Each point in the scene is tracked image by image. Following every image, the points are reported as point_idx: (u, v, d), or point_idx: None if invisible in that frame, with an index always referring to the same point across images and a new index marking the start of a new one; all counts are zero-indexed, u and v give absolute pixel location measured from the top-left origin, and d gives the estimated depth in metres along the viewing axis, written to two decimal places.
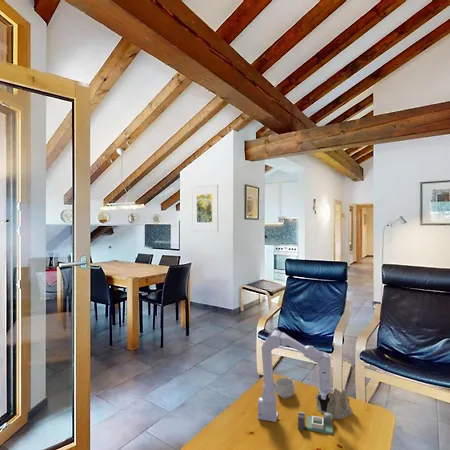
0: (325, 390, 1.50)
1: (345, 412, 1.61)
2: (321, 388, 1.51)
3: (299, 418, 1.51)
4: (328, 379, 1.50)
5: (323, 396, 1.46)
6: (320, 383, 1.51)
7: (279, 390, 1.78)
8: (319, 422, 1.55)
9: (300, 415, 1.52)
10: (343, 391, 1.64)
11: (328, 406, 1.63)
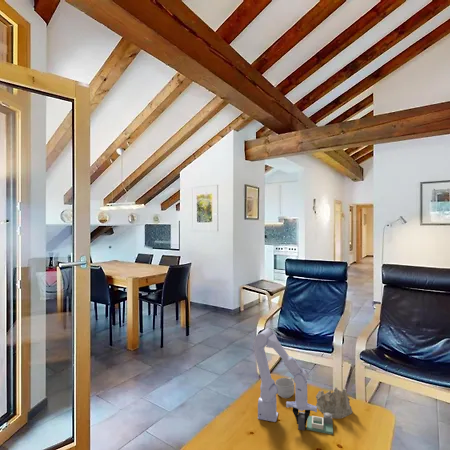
0: (295, 404, 1.53)
1: (345, 411, 1.62)
2: None
3: (299, 418, 1.51)
4: (303, 396, 1.50)
5: (286, 403, 1.55)
6: None
7: (279, 390, 1.78)
8: (319, 422, 1.55)
9: (300, 415, 1.53)
10: (343, 390, 1.64)
11: (328, 405, 1.63)
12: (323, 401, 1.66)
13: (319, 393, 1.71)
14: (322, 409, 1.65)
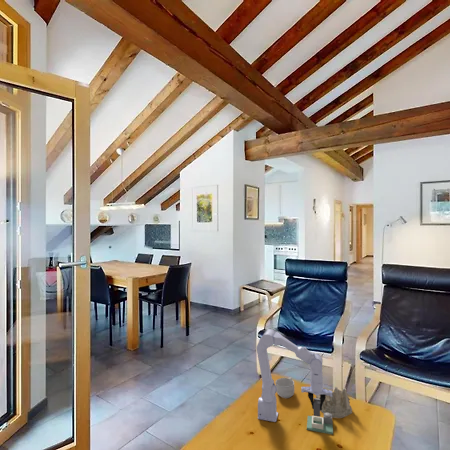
0: (310, 388, 1.53)
1: (345, 411, 1.62)
2: None
3: (314, 404, 1.51)
4: (320, 381, 1.50)
5: None
6: None
7: (279, 390, 1.78)
8: (319, 422, 1.55)
9: (315, 401, 1.53)
10: (343, 390, 1.65)
11: (328, 405, 1.63)
12: None
13: None
14: (322, 409, 1.65)
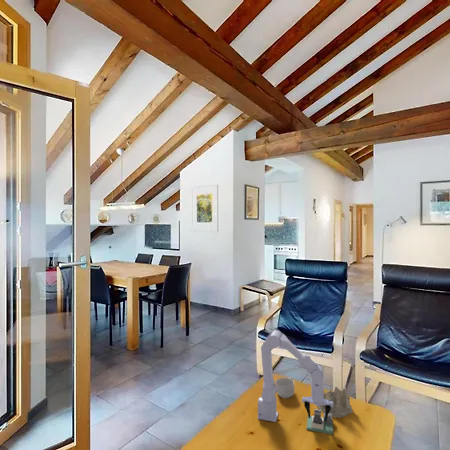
0: (311, 399, 1.53)
1: (346, 410, 1.63)
2: None
3: (315, 415, 1.51)
4: (321, 391, 1.51)
5: (302, 398, 1.55)
6: None
7: (279, 390, 1.78)
8: None
9: (316, 412, 1.53)
10: (343, 390, 1.65)
11: None
12: None
13: None
14: (322, 408, 1.65)
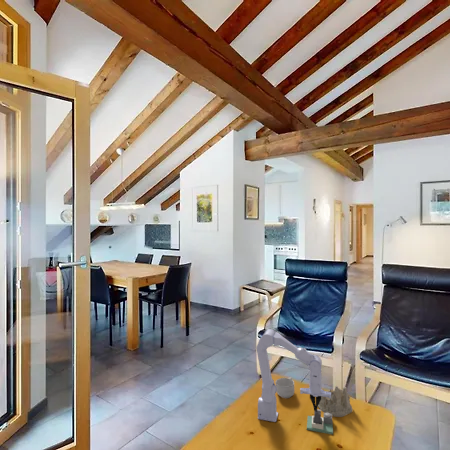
0: (309, 390, 1.54)
1: (346, 410, 1.63)
2: None
3: (315, 415, 1.51)
4: (319, 382, 1.51)
5: (300, 389, 1.55)
6: None
7: (279, 390, 1.78)
8: None
9: (316, 412, 1.53)
10: (344, 389, 1.66)
11: (329, 404, 1.64)
12: (324, 400, 1.67)
13: None
14: (323, 408, 1.66)
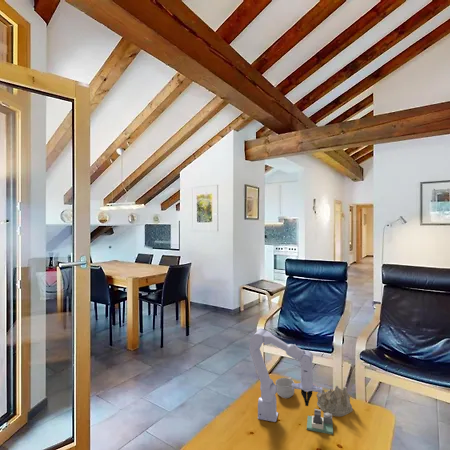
0: (300, 385, 1.54)
1: (346, 409, 1.64)
2: None
3: (315, 415, 1.51)
4: (309, 377, 1.51)
5: None
6: None
7: (279, 390, 1.78)
8: None
9: (316, 412, 1.53)
10: (344, 389, 1.66)
11: (329, 404, 1.65)
12: (324, 399, 1.67)
13: None
14: (323, 407, 1.66)
